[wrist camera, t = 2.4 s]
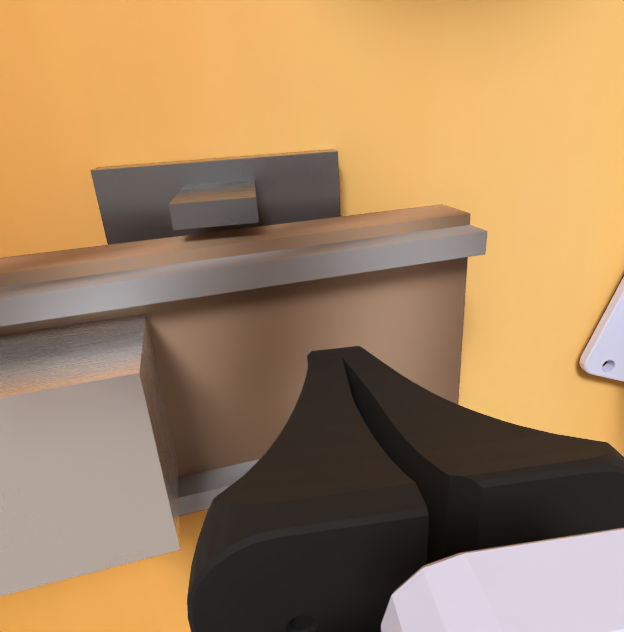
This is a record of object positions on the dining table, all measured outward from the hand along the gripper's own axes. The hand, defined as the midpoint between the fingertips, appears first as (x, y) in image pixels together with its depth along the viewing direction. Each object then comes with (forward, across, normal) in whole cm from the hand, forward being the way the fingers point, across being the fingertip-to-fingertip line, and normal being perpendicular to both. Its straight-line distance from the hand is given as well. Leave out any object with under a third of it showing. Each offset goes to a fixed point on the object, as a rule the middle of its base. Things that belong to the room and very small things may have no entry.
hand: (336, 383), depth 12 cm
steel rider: (0, +7, 0) cm, 7 cm away
